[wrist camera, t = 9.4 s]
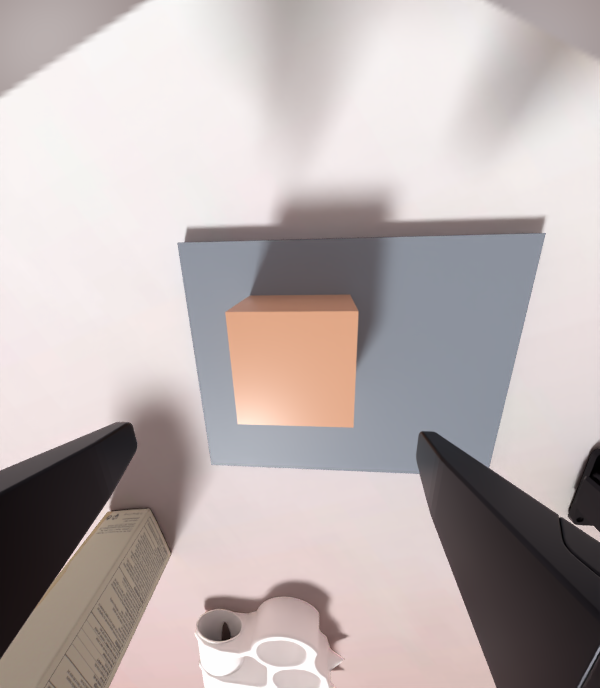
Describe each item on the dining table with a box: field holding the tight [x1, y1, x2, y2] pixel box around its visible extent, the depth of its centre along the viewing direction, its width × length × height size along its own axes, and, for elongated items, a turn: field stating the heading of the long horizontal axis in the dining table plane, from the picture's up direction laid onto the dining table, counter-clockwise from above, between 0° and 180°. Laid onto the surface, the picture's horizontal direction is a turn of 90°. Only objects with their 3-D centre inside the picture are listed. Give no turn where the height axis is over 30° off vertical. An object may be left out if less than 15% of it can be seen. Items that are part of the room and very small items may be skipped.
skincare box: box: [0, 508, 171, 688], centre depth 20 cm, size 6×4×12 cm
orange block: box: [225, 295, 359, 428], centre depth 16 cm, size 6×6×4 cm
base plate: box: [178, 233, 546, 474], centre depth 17 cm, size 20×16×4 cm
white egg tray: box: [195, 597, 345, 688], centre depth 29 cm, size 3×18×15 cm
